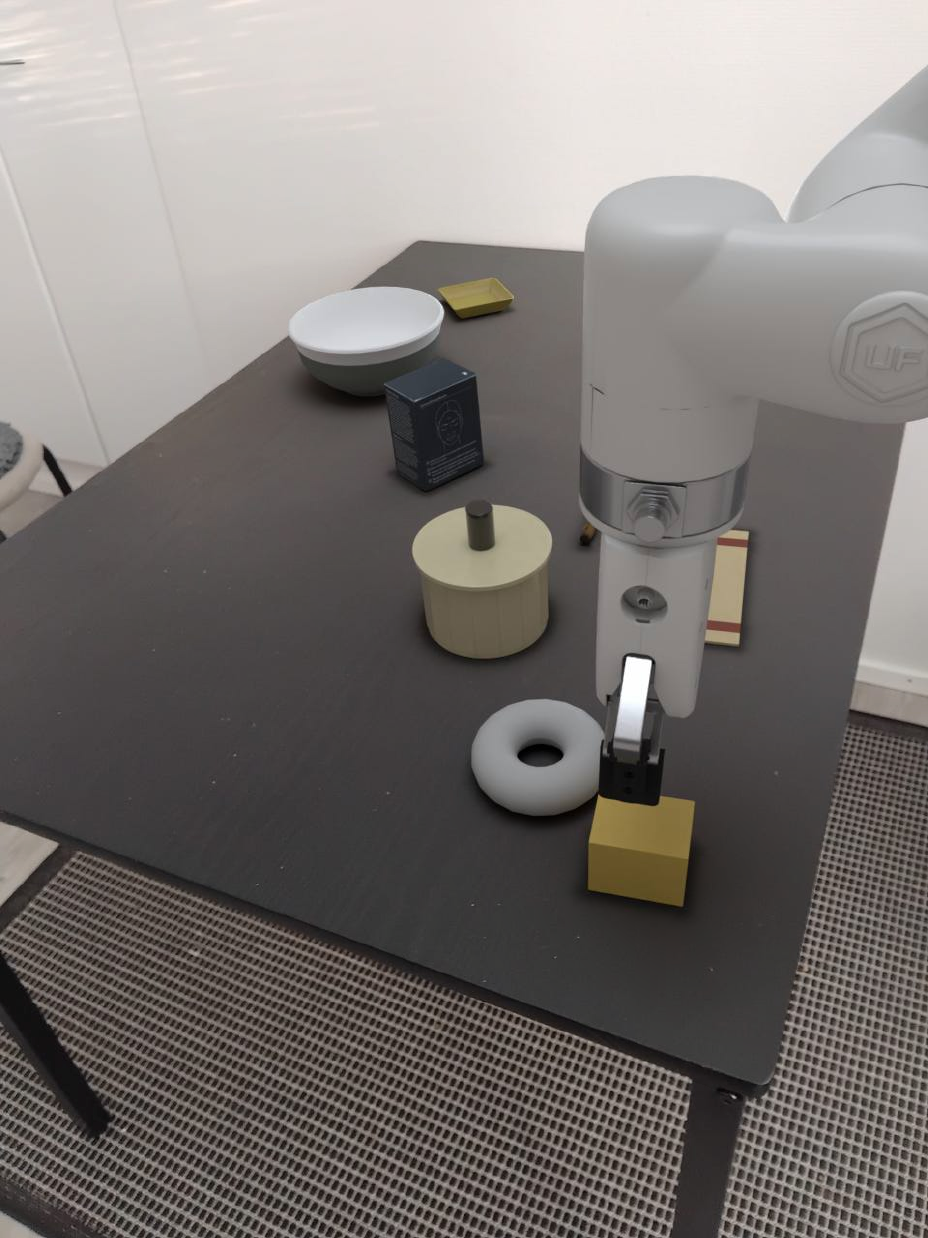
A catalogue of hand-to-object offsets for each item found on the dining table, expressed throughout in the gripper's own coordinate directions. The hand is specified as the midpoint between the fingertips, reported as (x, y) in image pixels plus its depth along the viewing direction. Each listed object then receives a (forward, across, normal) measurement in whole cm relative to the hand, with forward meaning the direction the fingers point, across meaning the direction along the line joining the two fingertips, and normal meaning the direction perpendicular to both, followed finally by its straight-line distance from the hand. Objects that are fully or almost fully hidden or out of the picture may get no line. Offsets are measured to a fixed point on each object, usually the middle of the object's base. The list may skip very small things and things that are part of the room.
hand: (640, 732), depth 56 cm
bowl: (+14, +65, +40) cm, 78 cm away
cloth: (+13, +31, -1) cm, 34 cm away
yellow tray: (+14, +88, +33) cm, 95 cm away
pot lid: (+6, +23, +16) cm, 28 cm away
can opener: (+13, +39, +8) cm, 42 cm away
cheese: (+13, 0, -1) cm, 13 cm away
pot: (+13, +23, +15) cm, 31 cm away
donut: (+13, +7, +7) cm, 17 cm away
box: (+14, +46, +26) cm, 55 cm away
